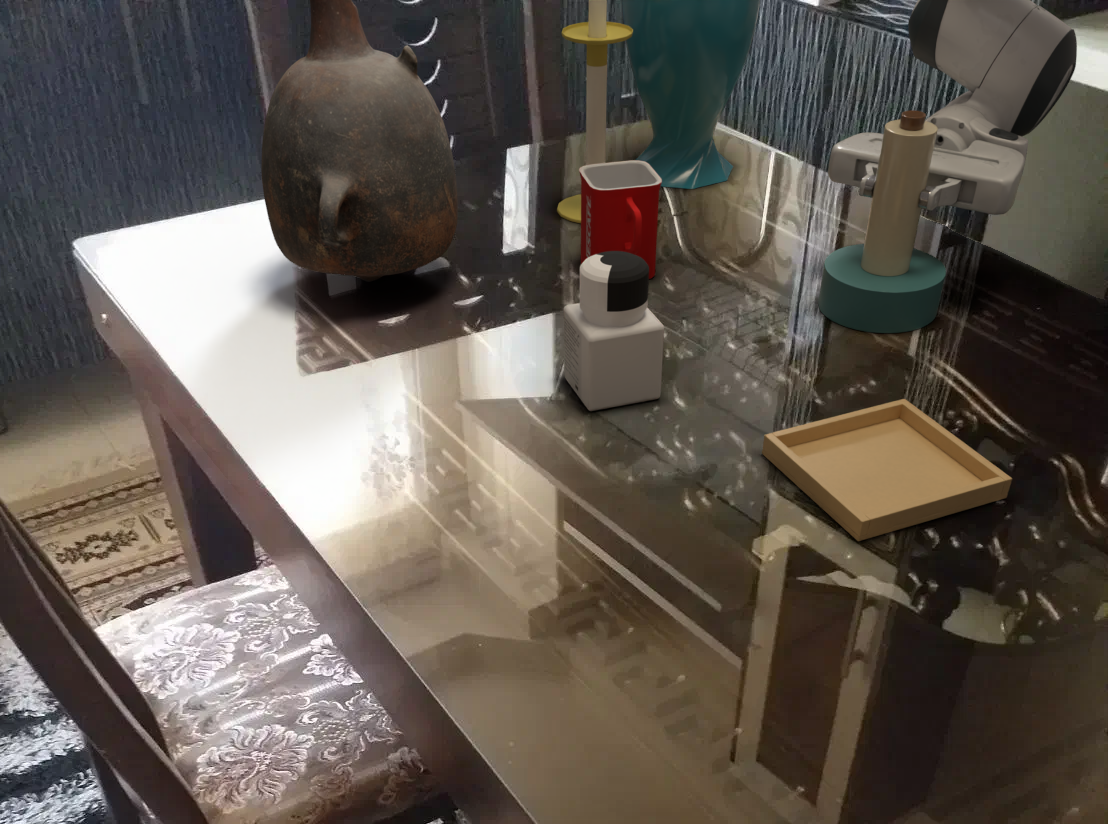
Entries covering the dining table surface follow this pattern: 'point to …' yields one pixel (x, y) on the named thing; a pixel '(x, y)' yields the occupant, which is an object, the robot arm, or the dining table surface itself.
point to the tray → (884, 468)
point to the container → (613, 334)
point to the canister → (898, 194)
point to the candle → (593, 87)
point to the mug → (620, 209)
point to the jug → (356, 157)
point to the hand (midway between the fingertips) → (895, 195)
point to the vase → (687, 79)
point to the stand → (880, 293)
